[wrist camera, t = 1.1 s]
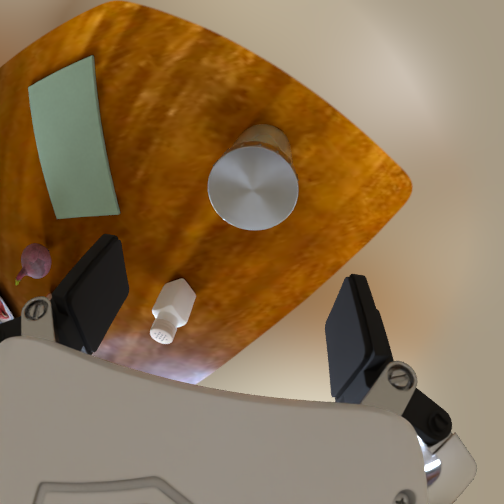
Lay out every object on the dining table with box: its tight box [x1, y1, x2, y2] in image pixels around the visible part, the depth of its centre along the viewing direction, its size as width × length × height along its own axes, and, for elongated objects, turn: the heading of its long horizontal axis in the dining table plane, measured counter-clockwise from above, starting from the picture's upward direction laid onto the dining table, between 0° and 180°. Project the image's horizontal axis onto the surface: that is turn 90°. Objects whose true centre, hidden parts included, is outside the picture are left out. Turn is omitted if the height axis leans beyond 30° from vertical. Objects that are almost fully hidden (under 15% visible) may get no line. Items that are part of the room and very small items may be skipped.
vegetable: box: [15, 243, 51, 285], centre depth 36 cm, size 6×6×10 cm
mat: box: [28, 55, 120, 219], centre depth 29 cm, size 22×13×1 cm, turn 3°
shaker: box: [230, 124, 293, 164], centre depth 24 cm, size 6×6×12 cm
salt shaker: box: [150, 278, 196, 344], centre depth 37 cm, size 4×4×10 cm
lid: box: [208, 141, 299, 230], centre depth 19 cm, size 6×6×2 cm
